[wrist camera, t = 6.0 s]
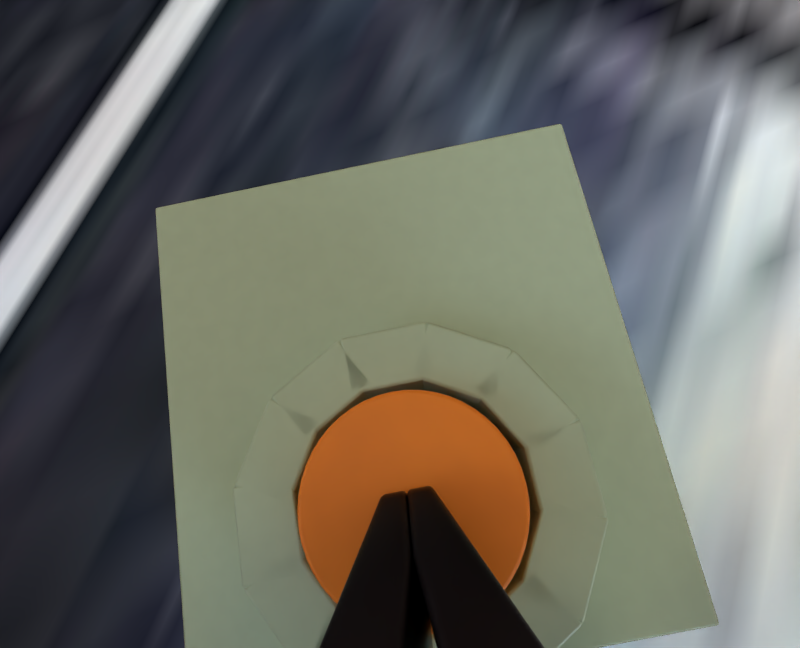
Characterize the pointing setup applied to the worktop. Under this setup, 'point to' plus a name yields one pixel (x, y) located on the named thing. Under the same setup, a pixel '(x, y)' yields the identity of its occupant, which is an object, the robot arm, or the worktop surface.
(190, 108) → the worktop surface
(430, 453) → the button
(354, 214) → the button base
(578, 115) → the worktop surface
